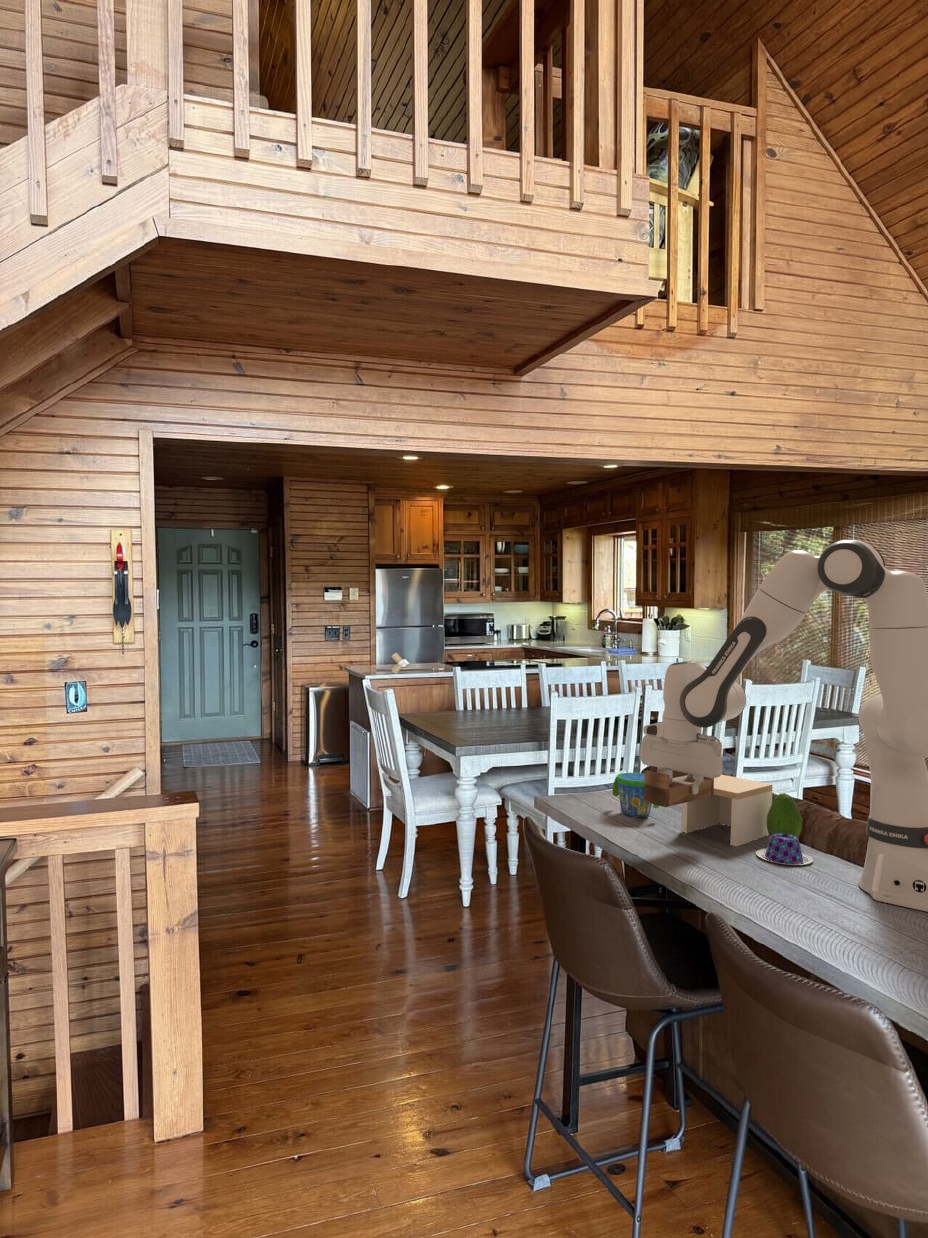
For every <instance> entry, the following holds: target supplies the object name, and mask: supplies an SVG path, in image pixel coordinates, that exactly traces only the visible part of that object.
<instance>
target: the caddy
mask: <svg viewBox="0 0 928 1238" xmlns="http://www.w3.org/2000/svg"><path fill="white" fill-rule="evenodd" d="M656 768H657V767H656ZM656 770H657V771H651V770H644V774H645V775H644V802H646V803H650V804H652V805H653V804H655V805H659V807H663V808H668V807H672V806H673V807H674V806H676V805H682V803H686V802H690V801H694V800H698V799H702V798H706V797H711V796H713V793H714V778H708V777H704V779H703V781H702V782H701V784H700V785H699V789H698V794H695V795H694V794H690V793H689V786H690V785H693V783H694V781H695V780H694V779H693V774H688V773H686V775H682V776H676V777H674V776H673V775H674V770H673V769H670V768H657V769H656Z"/></svg>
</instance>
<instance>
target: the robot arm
mask: <svg viewBox="0 0 928 1238" xmlns="http://www.w3.org/2000/svg"><path fill="white" fill-rule="evenodd" d="M828 590H829V591H831V592H835V593H837V594H841V595H845V596H849V597H854V598H859V599H863V600H864V602H865V603H866V606H867V610H868V631H869V633H868V634H869V655H870V656H869V657H870V667H871V669H872V672H873V673H874V675H875V678H876V680H877V684H878V686H879V687H878V688H879V692H880V694H876V695H873V696H871V697H869V698H867V699H866V700H865V701H864V702H863V703H862V704H861V706H860V708H859V711H858V722H859V725H860V727H861V730H862V732H863V736H864V743H865V750H866V755H867V760H868V767H869V774H870V775H869V776H870V804H869V805H870V806H869V815H868V816H867V823H866V829H865V831H866V835H865V836H866V843H867V849H866V854H865V855H866V856H865V861H864V865H863V869H862V871H861V872H862V873H861V876H860V879H859V881H858V887H859V888H860V889H862V890H863V891H864V892H867V893H868V894H869V895H870V896H871V897H872V899H873V900H875V901H878V902H881V903H882V902H883V903H886V904H887V903H888V904H891V905H895V906H900V907H905V908H909V909H914V910H919V911H923V912H927V913H928V768H927V764H926V759H925V758H928V592H927V588H926V585H925V582H924V580H923V579H922V577H921V576H919V575H918V574H916V573H913V572H910V571H906V570H891V569H888V568H887V567H886V563H885V559H884V557H883V555H882V553H881V552H880V551H879V550H878V549H877V548H875V547H874V546H872V545H871V544H869V543H867V542H865V541H862V540H858V539H842V540H838V541H836V542H833V543H831V544H830V545H828V546H827V547H826V548H825V549H824V550H823V551H822V552H821V554H820V556H819V555H815V554H813V553H811V552H808V551H806V550H800V549H799V550H798V549H797V550H796V549H795V550H789V551H788V552H786V553H785V554H784V555H783V556H781V558H780V559H779V560H778V561H777V563H776V564H775V565H774V566H773V567H772V568H771V570H769V572H768V573H767V575H766V576H765V577H764V579H763V580H762V582H761V584H760V585H759V586H758V588H757V590H756V592H755V593H754V595H753V597H752V598H751V600H750V602H749V604H748V606H747V607H746V609H745V611H744V613H743V615H742V616H741V618H740V619H739V621H738V622H737V624H736V626H735V627H734V629H733V631H732V632H731V633H730V635H729V636H728V637H727V639H726V640H725V642H724V643H723V644H722V646H721V648H720V649H719V650H718V652H717V653H716V654H715V656H714V658H713V659H712V660H711V662H710V663H709V664H708V666H707V667H706V666H704V664H703V662H700V661H698V660H688V661H678V662H673V663H671V664H670V665H669V666H667V668H666V671H665V676H664V680H663V681H664V682H663V694H662V696H663V697H662V700H663V703H664V709H663V713H662V716H661V717H662V719H661V721H659V722H658V721H657V722H656V723H652V724H651V723H650V724H646V725H644V726H643V728H642V730H643V731H642V733H643V734H644V735H643V737H642V739H641V744H640V753H639V754H640V755H639V756H640V757H639V758H640V761H641V762H642V764H643V765H645V766H650V767H654V768H670V769H673V772H674V771H675V772H679V773H685V774H687V773H688V774H693V779H694V780H695V781H694V783H693V785H690V786H689V793H690V794H694V795H695V794H698V789H699V785H700V784H701V782H702V781H703V779H704V777H708V778H717V777H720V776H721V775H723V772H724V771H723V770H724V767H723V766H724V764H723V763H724V762H723V757H722V756H723V754H722V752H723V743H722V742H721V740H720V739H719V738H718V737H717V736H715V735H708V734H703V733H702V731H703V730H702V729H703V728H705V729H706V728H710V727H713V726H715V725H717V724H719V723H723V722H726V721H728V720H729V721H730V720H733V719H735V718H736V717H738V716H739V715H741V714H742V713H743V711H744V710H745V707H746V704H747V695H746V691H745V689H744V688H743V687H742V685H741V684H740V683H739V682H738V681H737V680H738V679H739V677H740V676H741V675H742V673H743V672H744V670H745V669H746V667H747V666H748V664H749V663H750V662H751V661H752V659H754V658H755V656H757V655H758V654H759V653H760V652H761V651H763V650H765V649H766V648H768V647H769V646H772V645H774V644H776V643H779V642H780V641H782V640H784V639H786V638H788V637H789V636H790V635H791V634H792V632H794V631H795V629H796V628H797V627H798V626H799V625H800V624H801V622H802V621H803V619H804V618H805V616H806V615H807V613H808V612H809V610H810V608H811V607H812V605H813V604H814V602H815V601H816V599H817V598H818V597H819V596H820V595H821V594H823V593H824V592H826V591H828Z"/></svg>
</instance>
